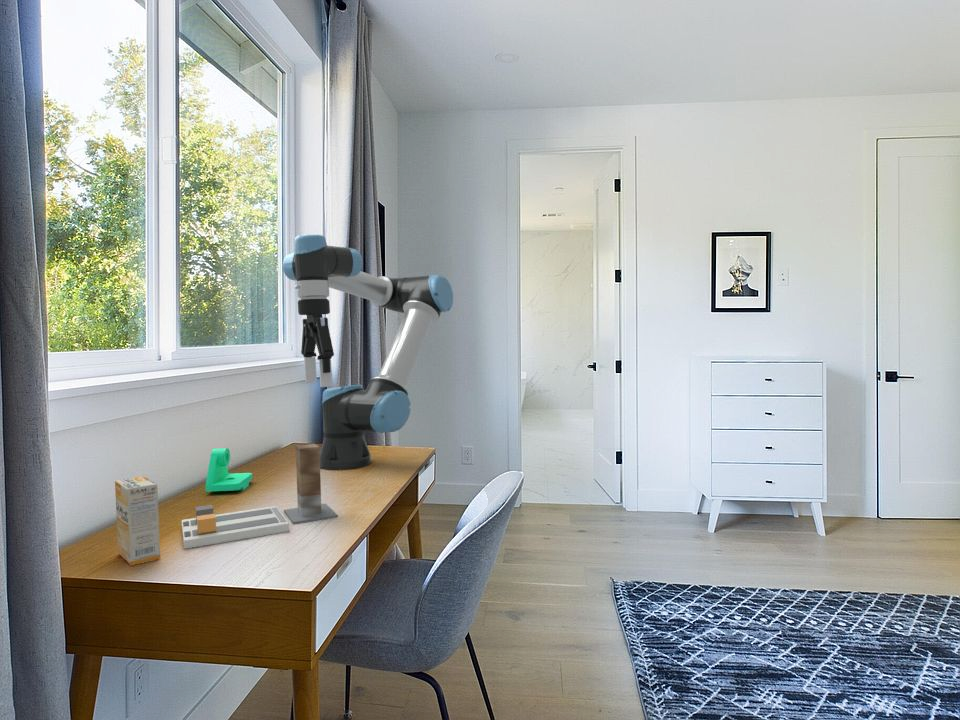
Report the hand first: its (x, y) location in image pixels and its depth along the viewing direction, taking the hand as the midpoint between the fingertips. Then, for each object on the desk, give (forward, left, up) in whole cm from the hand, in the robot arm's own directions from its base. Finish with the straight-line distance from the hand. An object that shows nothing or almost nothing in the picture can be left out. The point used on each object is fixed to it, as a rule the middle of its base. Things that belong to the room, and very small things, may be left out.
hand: (318, 384), depth 145 cm
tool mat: (+8, +22, -26) cm, 35 cm away
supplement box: (+39, +31, -26) cm, 56 cm away
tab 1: (+28, +21, -24) cm, 42 cm away
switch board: (+23, +24, -26) cm, 42 cm away
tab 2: (+28, +28, -24) cm, 46 cm away
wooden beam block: (+8, +22, -25) cm, 34 cm away
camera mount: (+20, -12, -26) cm, 35 cm away
